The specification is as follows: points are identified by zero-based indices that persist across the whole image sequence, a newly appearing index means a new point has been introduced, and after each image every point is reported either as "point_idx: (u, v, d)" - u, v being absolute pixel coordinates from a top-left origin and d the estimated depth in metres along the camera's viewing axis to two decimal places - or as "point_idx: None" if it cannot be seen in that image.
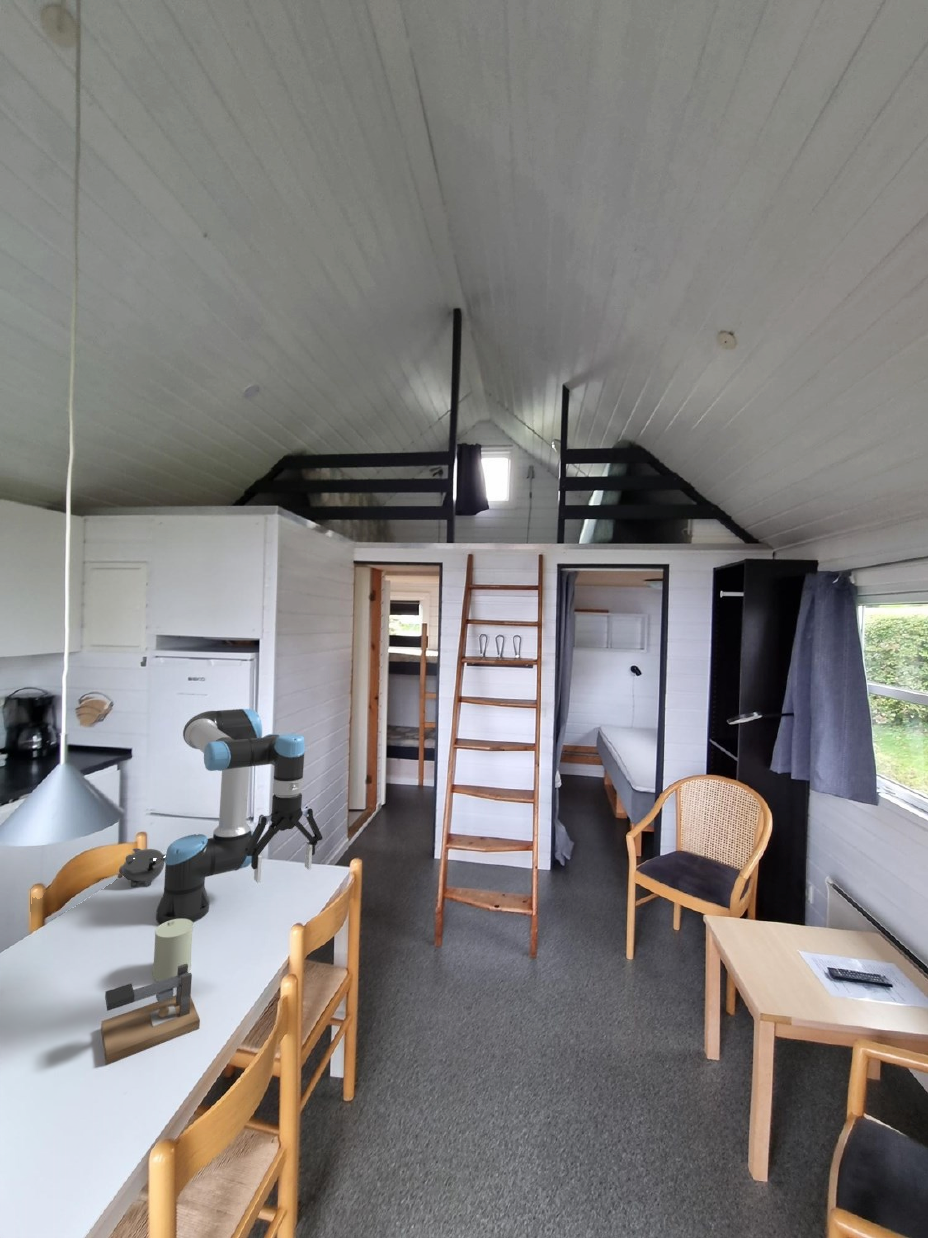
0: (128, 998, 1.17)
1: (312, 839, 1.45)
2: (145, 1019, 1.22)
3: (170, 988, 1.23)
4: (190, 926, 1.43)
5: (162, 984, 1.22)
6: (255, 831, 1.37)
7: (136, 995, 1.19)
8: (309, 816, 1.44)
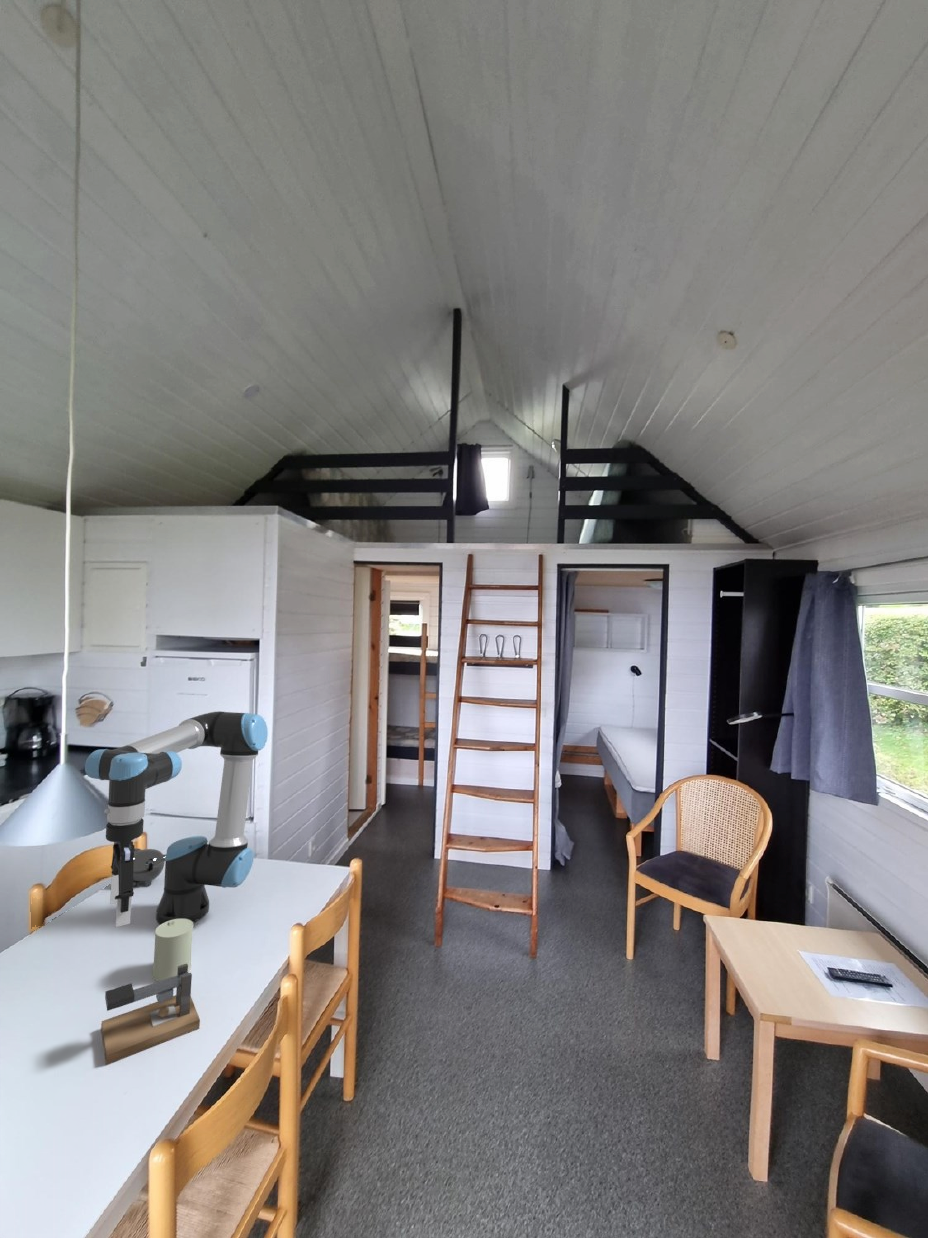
0: (128, 998, 1.17)
1: (119, 891, 1.20)
2: (145, 1019, 1.22)
3: (170, 988, 1.23)
4: (190, 926, 1.43)
5: (162, 984, 1.22)
6: None
7: (136, 995, 1.19)
8: None
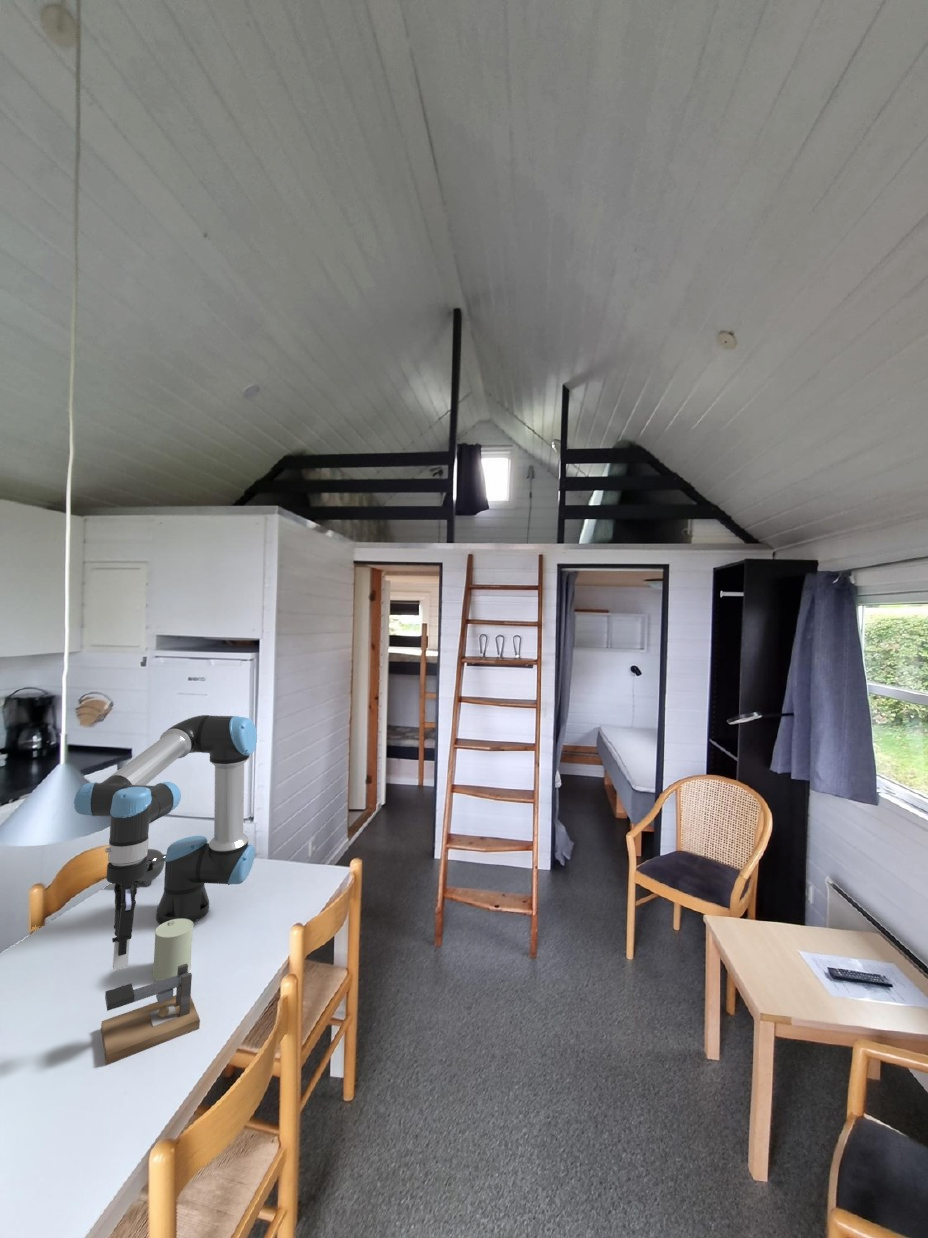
0: (128, 998, 1.17)
1: (117, 934, 1.16)
2: (145, 1019, 1.22)
3: (170, 988, 1.23)
4: (190, 926, 1.43)
5: (162, 984, 1.22)
6: None
7: (136, 995, 1.19)
8: (121, 908, 1.14)
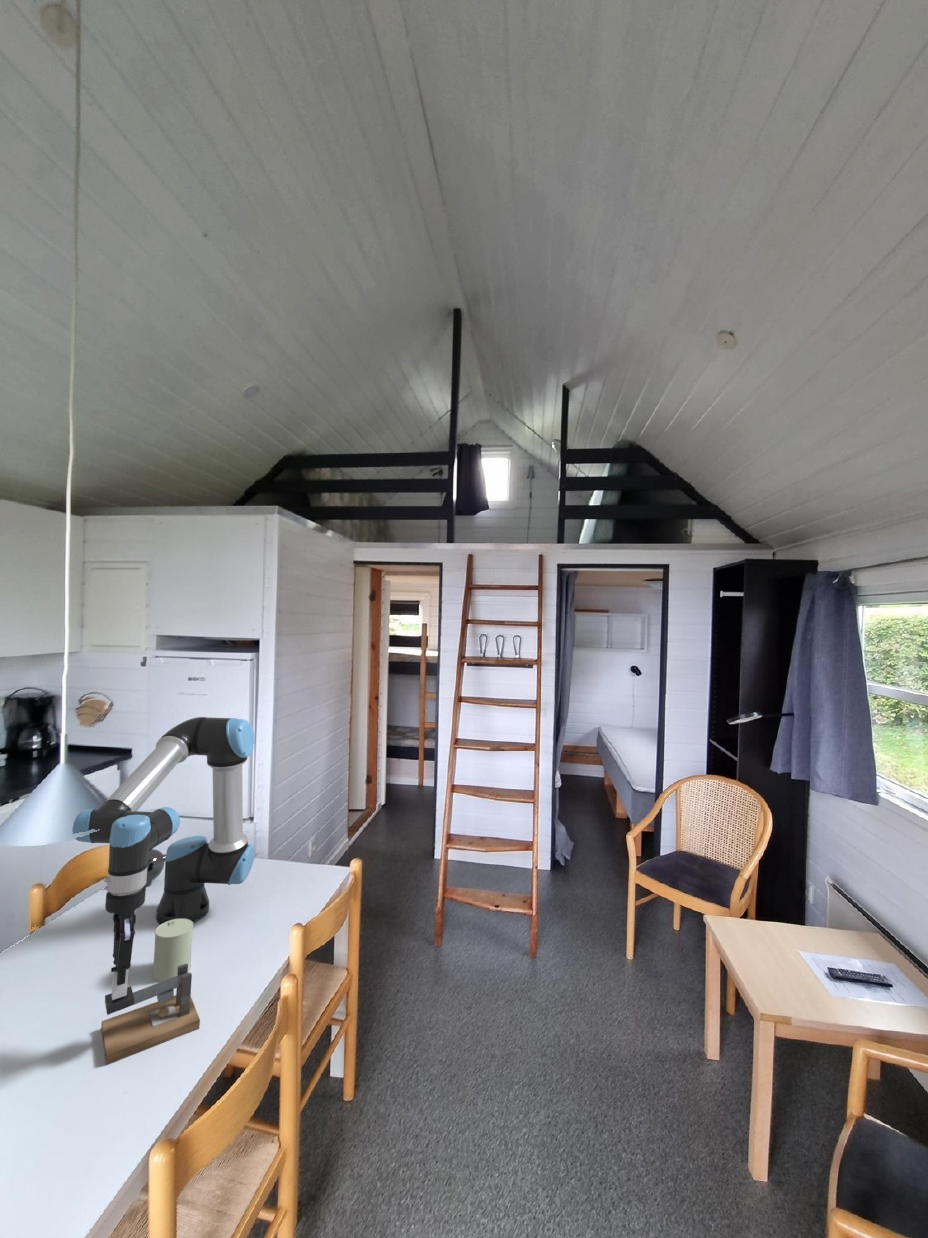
0: (127, 1001, 1.17)
1: (116, 963, 1.16)
2: (145, 1019, 1.22)
3: (170, 989, 1.23)
4: (190, 926, 1.43)
5: (162, 985, 1.22)
6: None
7: (136, 998, 1.19)
8: (120, 938, 1.14)
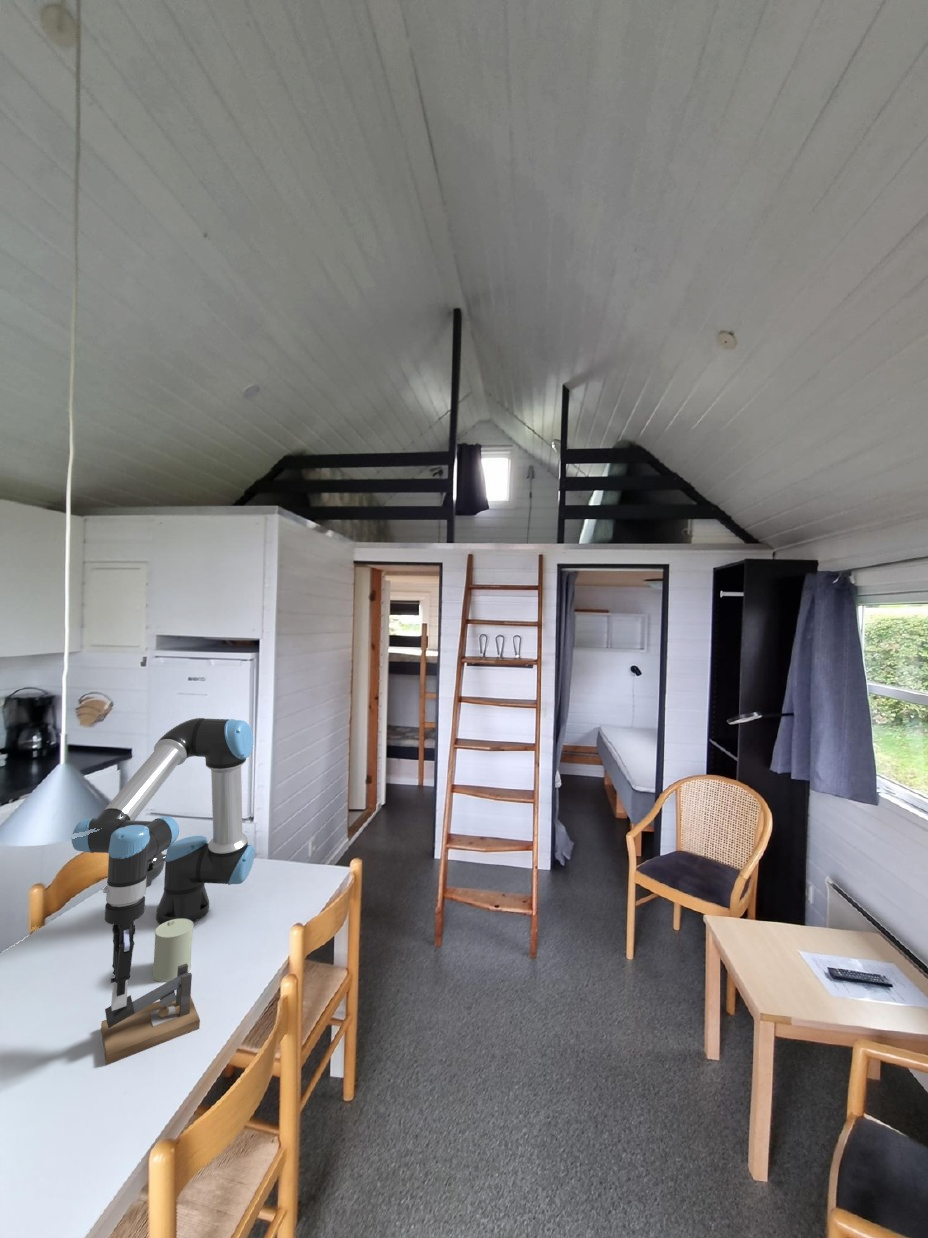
0: (127, 1012, 1.17)
1: (115, 974, 1.16)
2: (145, 1019, 1.22)
3: (171, 991, 1.23)
4: (190, 926, 1.43)
5: (162, 989, 1.22)
6: None
7: (136, 1006, 1.19)
8: (119, 949, 1.14)
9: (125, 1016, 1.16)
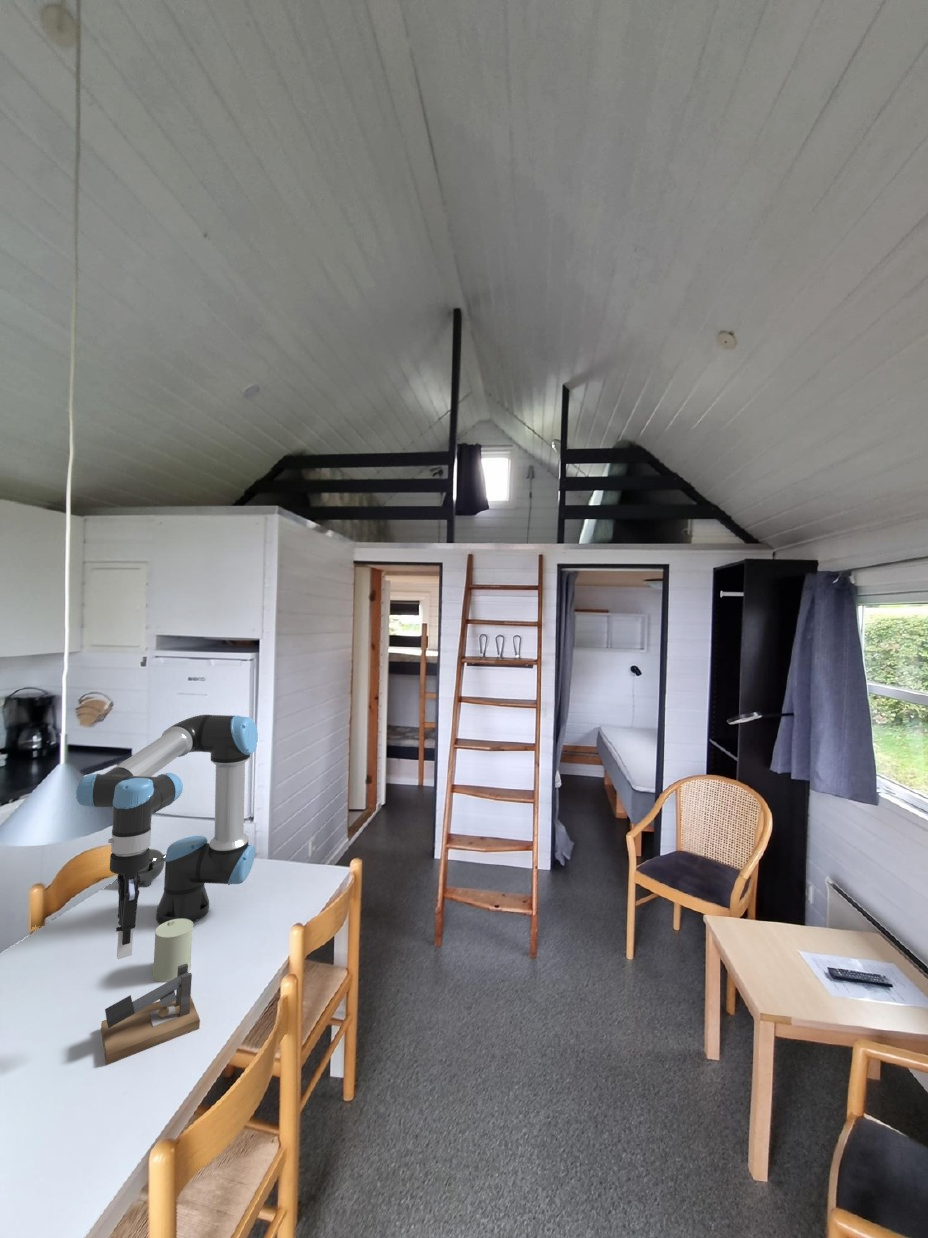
0: (127, 1012, 1.17)
1: (120, 923, 1.17)
2: (145, 1019, 1.22)
3: (171, 991, 1.23)
4: (190, 926, 1.43)
5: (162, 989, 1.22)
6: None
7: (136, 1006, 1.19)
8: (124, 898, 1.15)
9: (125, 1016, 1.16)
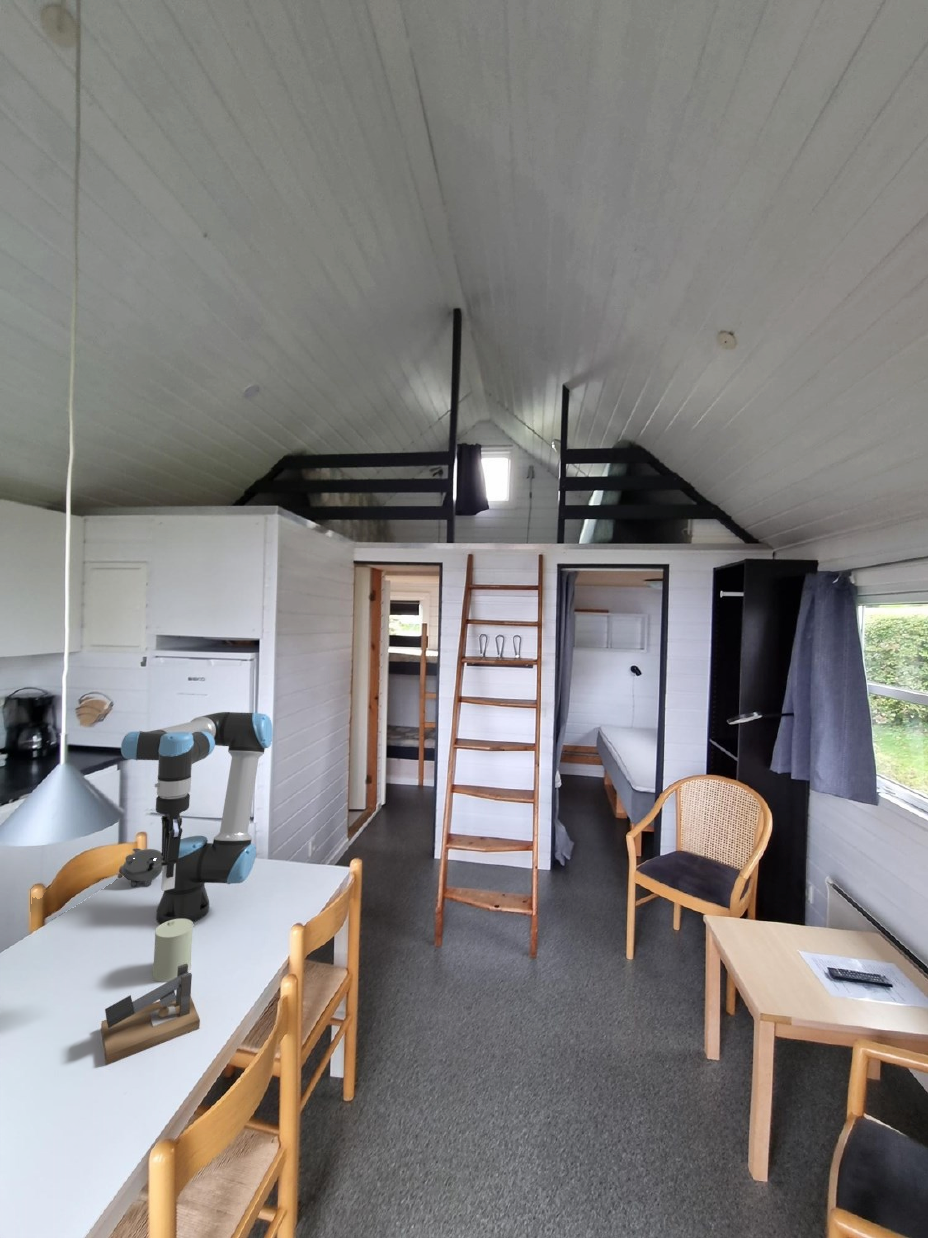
0: (127, 1012, 1.17)
1: (165, 859, 1.32)
2: (145, 1019, 1.22)
3: (171, 991, 1.23)
4: (190, 926, 1.43)
5: (162, 989, 1.22)
6: None
7: (136, 1006, 1.19)
8: (169, 835, 1.30)
9: (125, 1016, 1.16)
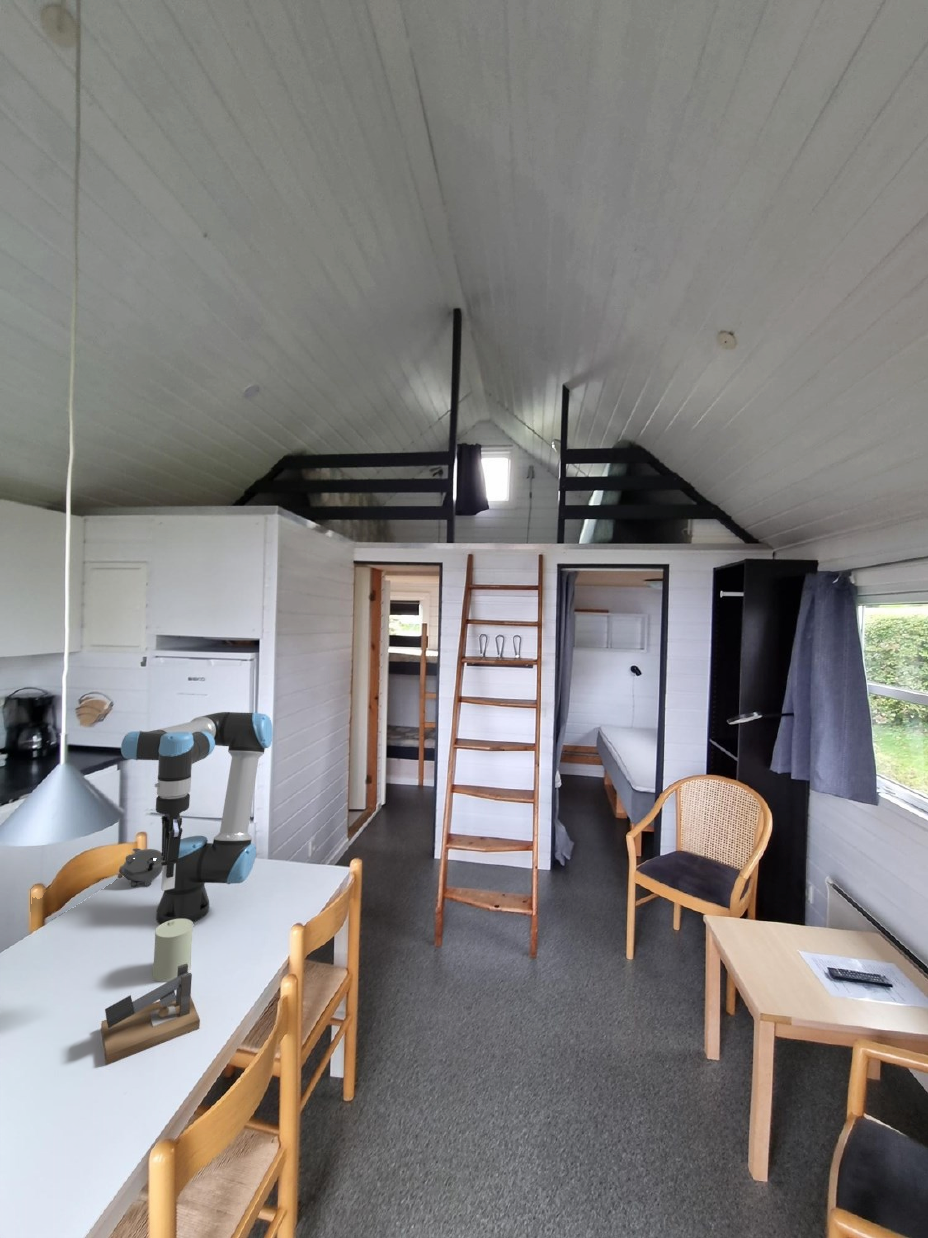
0: (127, 1012, 1.17)
1: (165, 859, 1.32)
2: (145, 1019, 1.22)
3: (171, 991, 1.23)
4: (190, 926, 1.43)
5: (162, 989, 1.22)
6: None
7: (136, 1006, 1.19)
8: (169, 834, 1.30)
9: (125, 1016, 1.16)
